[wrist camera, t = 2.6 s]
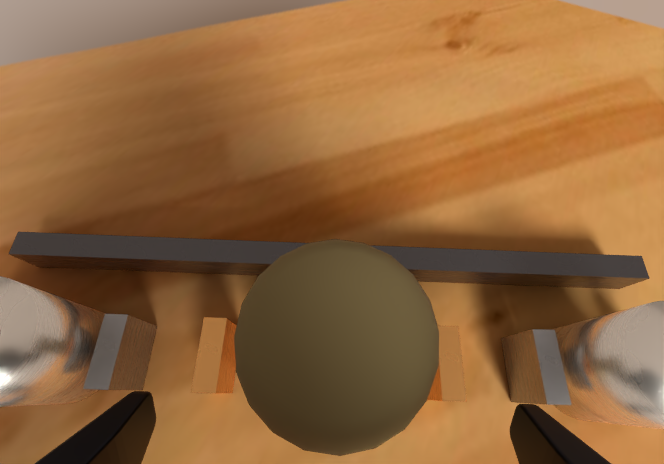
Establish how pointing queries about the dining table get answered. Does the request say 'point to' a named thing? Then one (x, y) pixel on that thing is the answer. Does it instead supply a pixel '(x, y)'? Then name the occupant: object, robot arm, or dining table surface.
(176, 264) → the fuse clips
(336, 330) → the olive knobbed post
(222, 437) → the dining table surface
